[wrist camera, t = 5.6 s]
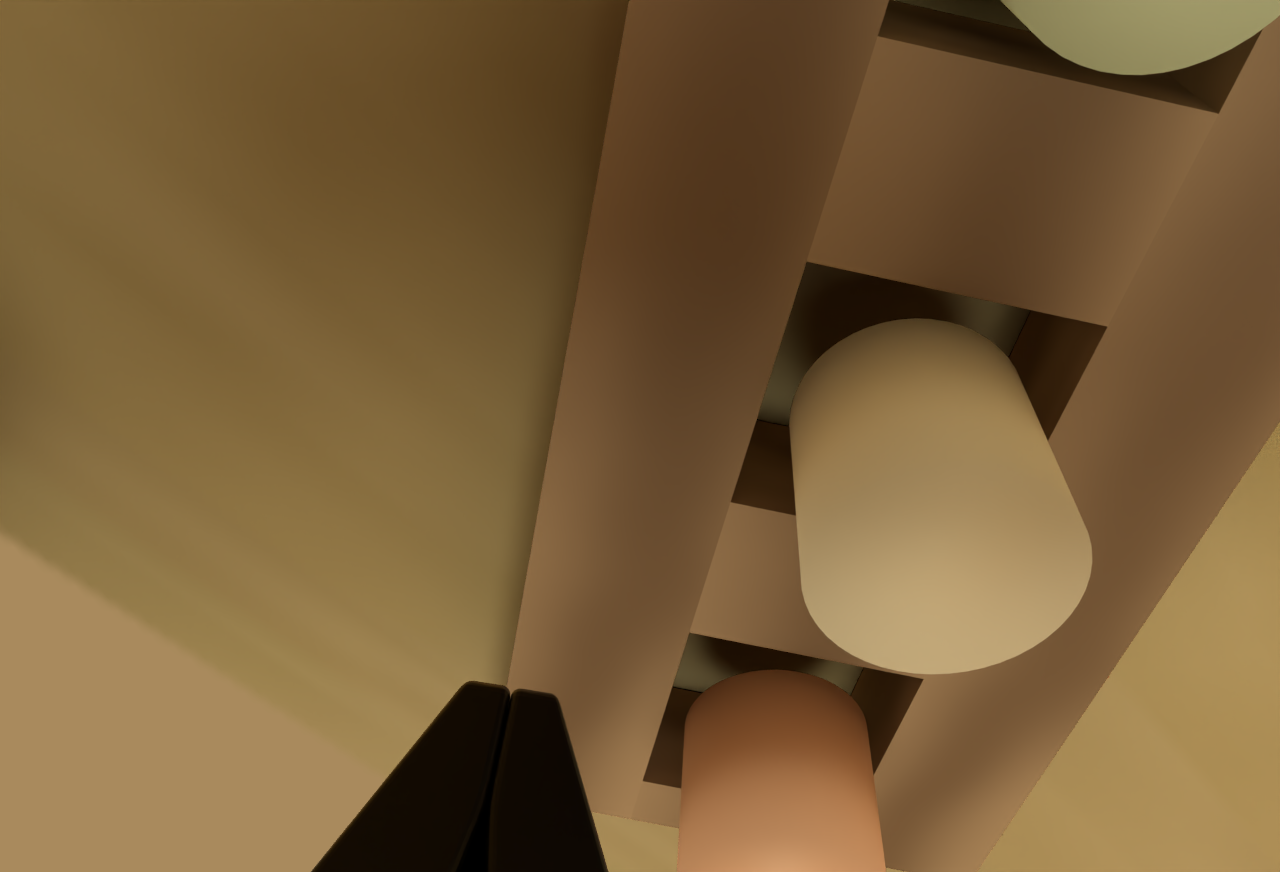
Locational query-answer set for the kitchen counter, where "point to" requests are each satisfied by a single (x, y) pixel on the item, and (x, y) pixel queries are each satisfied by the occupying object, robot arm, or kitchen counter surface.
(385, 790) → the robot arm
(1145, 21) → the green button
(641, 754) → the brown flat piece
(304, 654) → the kitchen counter surface
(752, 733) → the terracotta button
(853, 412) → the cream button
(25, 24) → the kitchen counter surface
